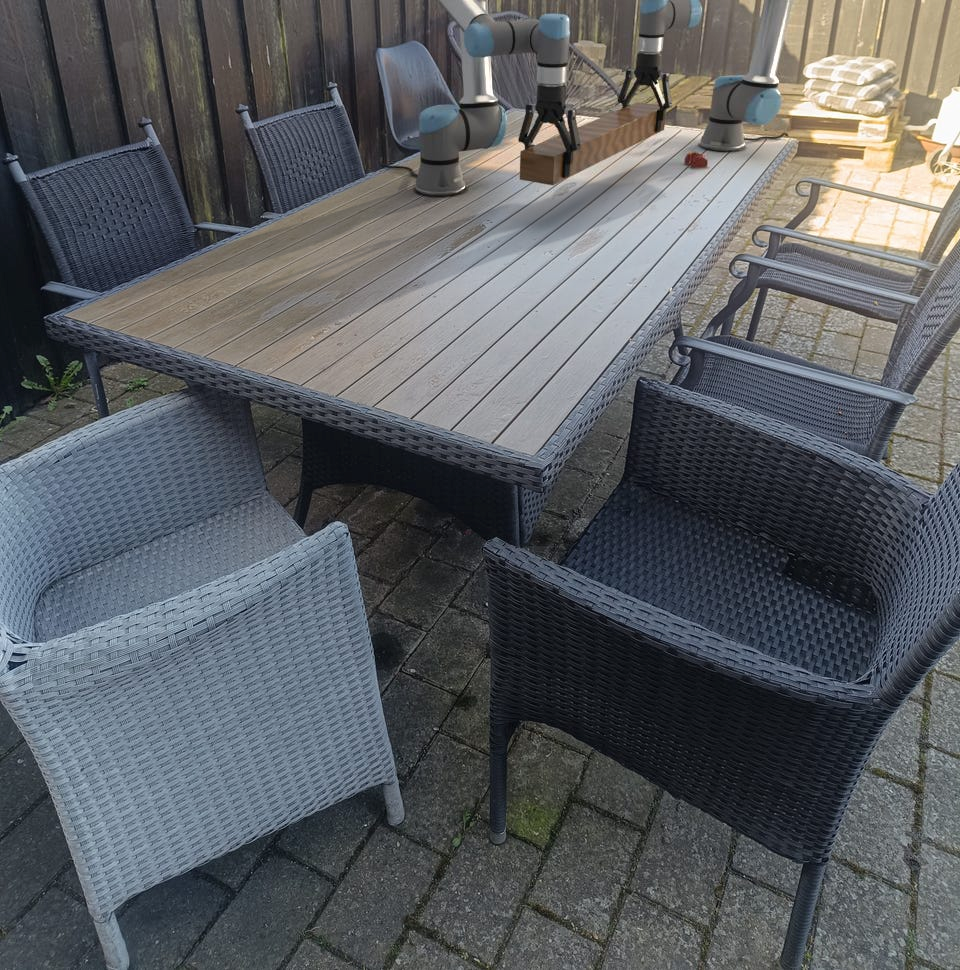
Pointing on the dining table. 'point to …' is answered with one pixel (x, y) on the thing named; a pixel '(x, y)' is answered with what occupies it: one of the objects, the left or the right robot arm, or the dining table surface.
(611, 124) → the thick board
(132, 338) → the dining table surface
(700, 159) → the dark red rounded lump
